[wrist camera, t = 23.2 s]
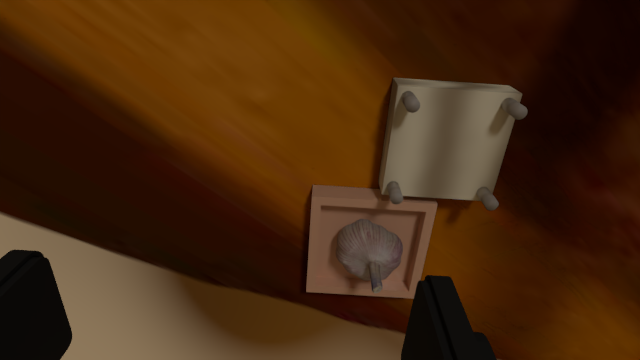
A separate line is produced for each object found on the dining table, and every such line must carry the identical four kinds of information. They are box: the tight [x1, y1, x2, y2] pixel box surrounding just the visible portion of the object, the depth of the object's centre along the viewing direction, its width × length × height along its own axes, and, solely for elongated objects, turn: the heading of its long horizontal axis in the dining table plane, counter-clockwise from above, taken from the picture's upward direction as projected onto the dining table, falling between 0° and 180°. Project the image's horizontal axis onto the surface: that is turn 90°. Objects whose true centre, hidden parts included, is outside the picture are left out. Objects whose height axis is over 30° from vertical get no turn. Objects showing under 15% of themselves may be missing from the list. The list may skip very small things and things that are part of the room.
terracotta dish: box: [306, 185, 438, 299], centre depth 45 cm, size 13×13×2 cm
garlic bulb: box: [336, 219, 403, 293], centre depth 42 cm, size 8×7×8 cm
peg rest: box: [378, 78, 528, 210], centre depth 38 cm, size 11×11×6 cm
